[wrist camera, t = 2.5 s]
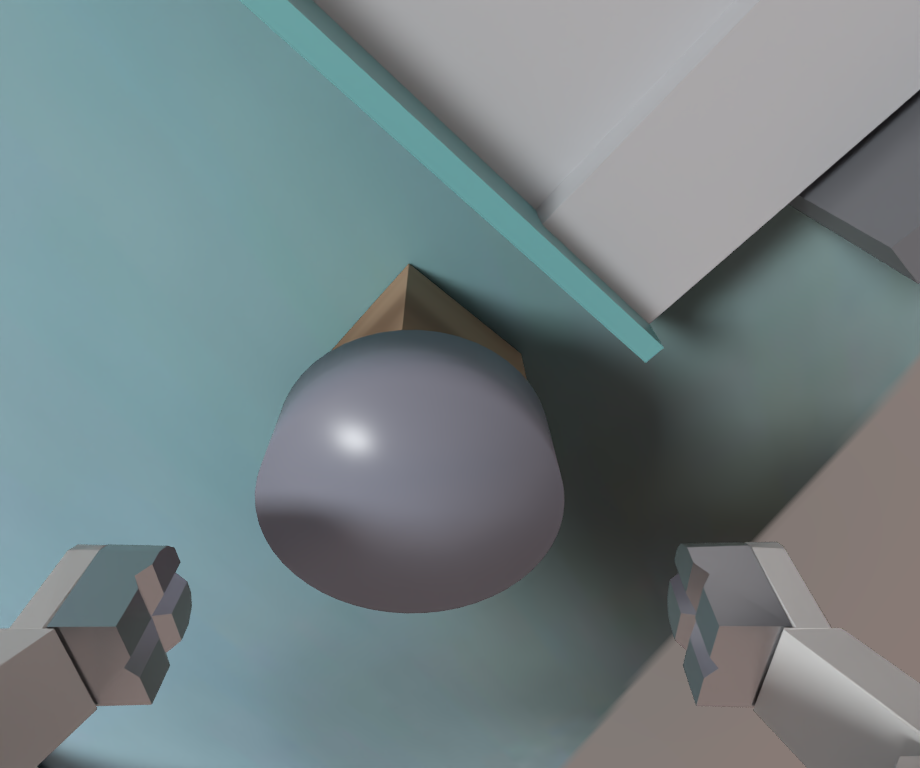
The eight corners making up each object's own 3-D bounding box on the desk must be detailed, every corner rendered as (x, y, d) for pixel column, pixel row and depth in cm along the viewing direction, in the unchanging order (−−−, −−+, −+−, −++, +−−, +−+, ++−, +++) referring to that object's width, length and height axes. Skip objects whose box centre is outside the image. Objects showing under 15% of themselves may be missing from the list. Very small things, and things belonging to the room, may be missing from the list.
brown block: (427, 441, 19) (425, 540, 15) (316, 366, 17) (287, 458, 14) (521, 353, 17) (541, 442, 14) (408, 263, 16) (401, 338, 12)
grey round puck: (429, 579, 16) (429, 647, 15) (225, 462, 14) (195, 526, 12) (604, 437, 14) (627, 499, 12) (393, 271, 12) (386, 318, 10)
